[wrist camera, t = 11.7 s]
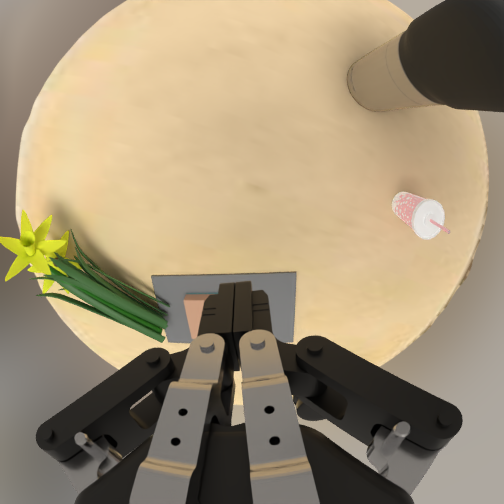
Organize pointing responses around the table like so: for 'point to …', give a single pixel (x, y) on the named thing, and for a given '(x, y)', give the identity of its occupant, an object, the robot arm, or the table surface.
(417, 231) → the beverage cup
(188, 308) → the tile
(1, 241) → the daffodil flowers
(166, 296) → the felt mat
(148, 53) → the table surface
